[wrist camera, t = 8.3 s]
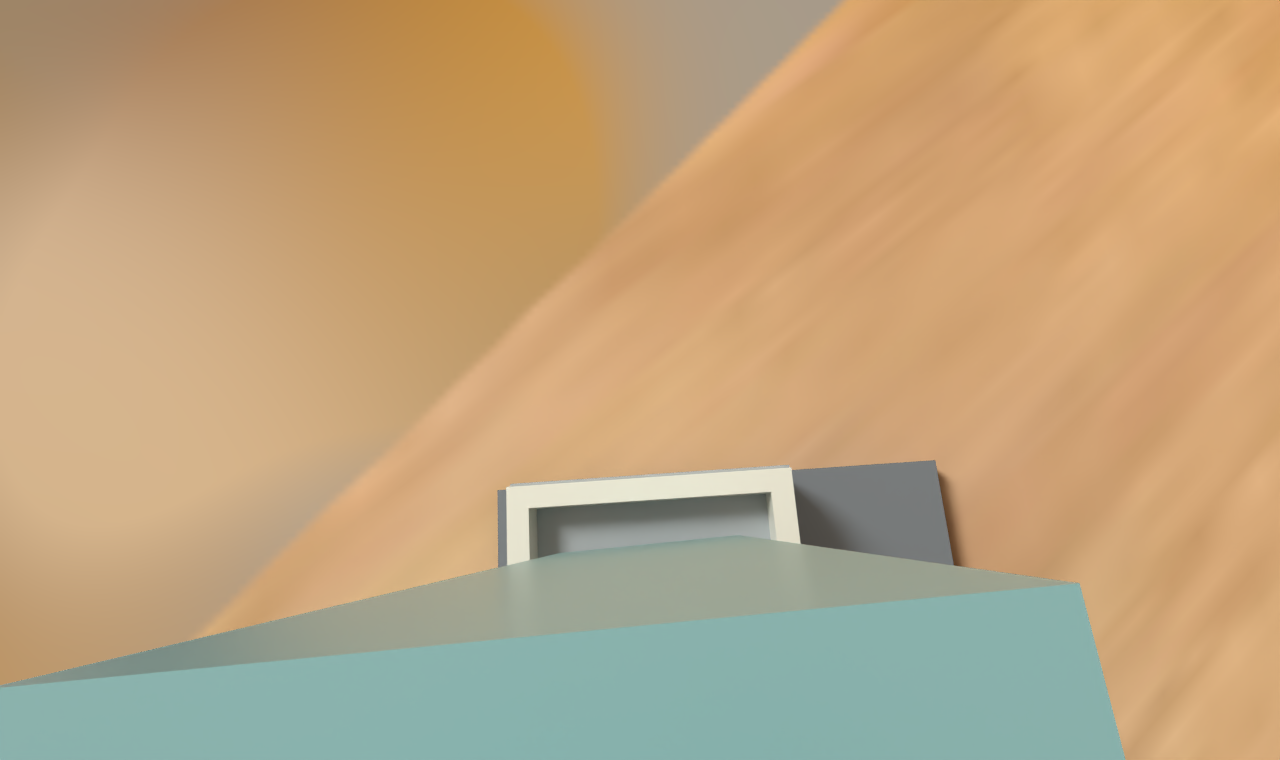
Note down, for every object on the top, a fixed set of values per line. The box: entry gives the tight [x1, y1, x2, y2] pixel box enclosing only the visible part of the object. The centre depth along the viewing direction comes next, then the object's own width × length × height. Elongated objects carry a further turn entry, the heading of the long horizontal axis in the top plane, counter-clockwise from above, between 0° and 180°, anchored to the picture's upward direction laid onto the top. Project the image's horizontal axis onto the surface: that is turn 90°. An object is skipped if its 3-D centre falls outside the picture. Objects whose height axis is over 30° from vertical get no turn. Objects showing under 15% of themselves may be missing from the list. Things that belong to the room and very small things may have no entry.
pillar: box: [0, 535, 1125, 760], centre depth 8 cm, size 4×4×14 cm
